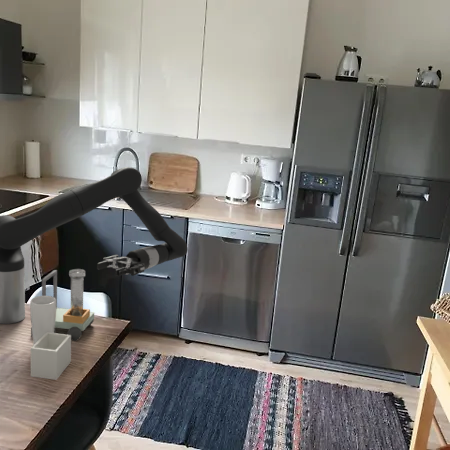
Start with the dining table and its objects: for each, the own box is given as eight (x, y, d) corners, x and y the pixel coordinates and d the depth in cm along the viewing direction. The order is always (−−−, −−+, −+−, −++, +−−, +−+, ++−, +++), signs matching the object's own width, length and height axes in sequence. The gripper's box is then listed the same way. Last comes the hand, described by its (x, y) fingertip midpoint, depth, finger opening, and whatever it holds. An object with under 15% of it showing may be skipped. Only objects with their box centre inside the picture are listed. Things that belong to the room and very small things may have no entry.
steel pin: (66, 320, 140) (66, 273, 136) (72, 314, 144) (72, 268, 141) (81, 322, 139) (81, 275, 136) (86, 316, 144) (87, 269, 140)
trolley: (39, 336, 139) (39, 280, 135) (56, 320, 150) (56, 268, 146) (81, 341, 138) (82, 285, 134) (95, 325, 149) (96, 273, 145)
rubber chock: (31, 336, 139) (31, 327, 138) (34, 333, 141) (34, 324, 140) (40, 337, 139) (40, 328, 138) (43, 334, 141) (43, 325, 140)
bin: (30, 376, 119) (30, 348, 117) (46, 358, 128) (46, 332, 126) (56, 379, 118) (56, 351, 117) (70, 361, 127) (71, 335, 125)
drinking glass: (47, 356, 129) (47, 306, 125) (25, 352, 130) (24, 302, 126) (60, 345, 135) (60, 297, 132) (39, 341, 136) (39, 293, 133)
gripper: (128, 244, 164) (91, 253, 151) (158, 253, 156) (122, 264, 143) (128, 264, 166) (91, 275, 153) (157, 274, 158) (121, 287, 145)
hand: (106, 270), depth 148 cm, fingers open, 8 cm apart
